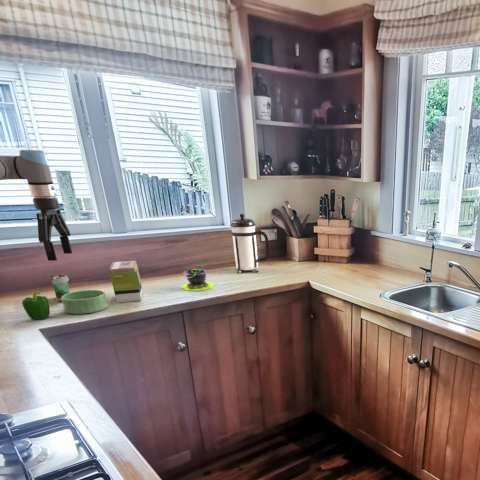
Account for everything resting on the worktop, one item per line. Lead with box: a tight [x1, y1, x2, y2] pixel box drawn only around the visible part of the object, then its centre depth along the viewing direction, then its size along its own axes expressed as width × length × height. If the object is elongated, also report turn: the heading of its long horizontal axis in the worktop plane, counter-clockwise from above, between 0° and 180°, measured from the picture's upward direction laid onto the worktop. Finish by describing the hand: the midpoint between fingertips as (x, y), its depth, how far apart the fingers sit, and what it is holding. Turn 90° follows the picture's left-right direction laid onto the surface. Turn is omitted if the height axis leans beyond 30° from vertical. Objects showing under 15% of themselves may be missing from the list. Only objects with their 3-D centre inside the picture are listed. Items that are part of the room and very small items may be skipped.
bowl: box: [61, 289, 109, 315], centre depth 189 cm, size 15×15×6 cm
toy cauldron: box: [180, 262, 215, 292], centre depth 222 cm, size 15×15×11 cm
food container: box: [50, 273, 70, 303], centre depth 201 cm, size 12×6×10 cm, turn 34°
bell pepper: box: [21, 290, 51, 320], centre depth 177 cm, size 8×8×10 cm
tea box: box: [108, 260, 144, 304], centre depth 203 cm, size 15×10×15 cm
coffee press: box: [227, 213, 270, 274], centre depth 251 cm, size 17×16×30 cm
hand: (60, 256), depth 177 cm, fingers open, 13 cm apart
